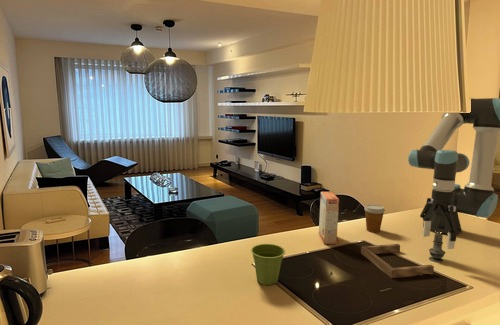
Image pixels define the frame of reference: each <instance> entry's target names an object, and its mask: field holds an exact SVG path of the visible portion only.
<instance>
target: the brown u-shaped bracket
mask: <svg viewBox="0 0 500 325" xmlns="http://www.w3.org/2000/svg"><path fill="white" fill-rule="evenodd" d="M390 253H392V254H393V253H401V244H399V243H393V244H391V243H390V244H378V245H377V244H376V245H363V246H361V247H360V254H361V255H362V256H363V257H365V258H366V259H367V260H369V261H370V262H371V263H372V264H373V265H374V266H376V267H377V268H378V269H379V270H380V271H382V272H383V273H384V274H386V275H387V276H388V277H389V278H390V279H395V278H396V279H397V278H406V277H415V276H417V275H419V276H424V275H423V274H430V275H434V270H435V269H434V268H435V266H434V265H433V264H425V265H424V264H423V265H414V266H413V265H412V266H402V267H393V266H391V265H390V264H389V263H388V262H386V261H385V260H383V258H380V257H379V256H378V254H390ZM417 277H418V276H417Z"/></svg>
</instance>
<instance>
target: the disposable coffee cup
mask: <svg viewBox="0 0 500 325" xmlns="http://www.w3.org/2000/svg"><path fill="white" fill-rule="evenodd" d="M364 212H365V213H364V214H365V226H366V227H365V228H366V231H367V232H369V233H370V232H371V233H380V232H381V229H382V228H381V226H382V223H383V222H382V221H383V219H384V218H383V217H384V213H385V212H386V209H385V207H384V206H382V205H380V204H366V205H365V206H364Z"/></svg>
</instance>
